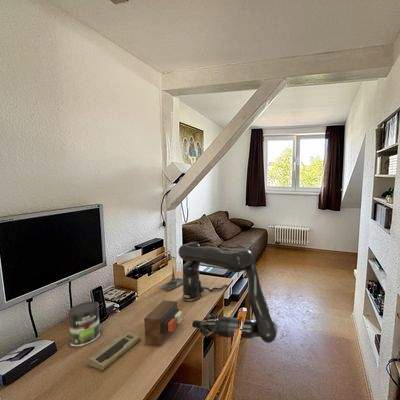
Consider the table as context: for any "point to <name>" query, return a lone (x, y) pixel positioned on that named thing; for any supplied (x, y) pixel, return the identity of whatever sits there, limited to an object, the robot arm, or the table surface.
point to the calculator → (110, 307)
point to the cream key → (178, 316)
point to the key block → (159, 322)
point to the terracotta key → (172, 325)
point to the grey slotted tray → (113, 351)
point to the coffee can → (84, 323)
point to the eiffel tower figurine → (172, 283)
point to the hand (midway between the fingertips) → (193, 323)
